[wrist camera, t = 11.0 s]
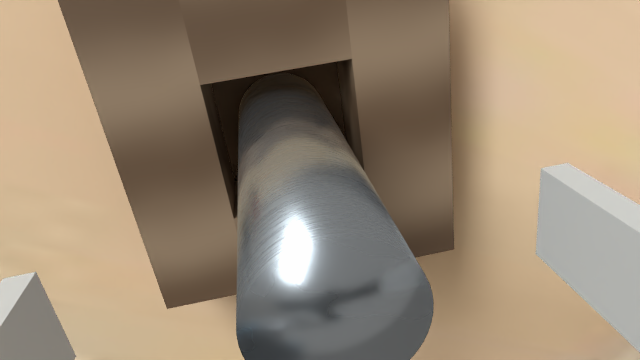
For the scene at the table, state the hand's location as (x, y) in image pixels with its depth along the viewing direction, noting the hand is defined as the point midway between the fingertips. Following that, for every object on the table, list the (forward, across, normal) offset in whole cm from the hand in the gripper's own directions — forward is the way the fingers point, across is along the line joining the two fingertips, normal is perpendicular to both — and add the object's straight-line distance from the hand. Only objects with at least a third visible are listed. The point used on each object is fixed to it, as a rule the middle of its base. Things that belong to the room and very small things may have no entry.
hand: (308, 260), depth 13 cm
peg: (+12, 0, 0) cm, 12 cm away
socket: (+12, 0, 0) cm, 12 cm away
